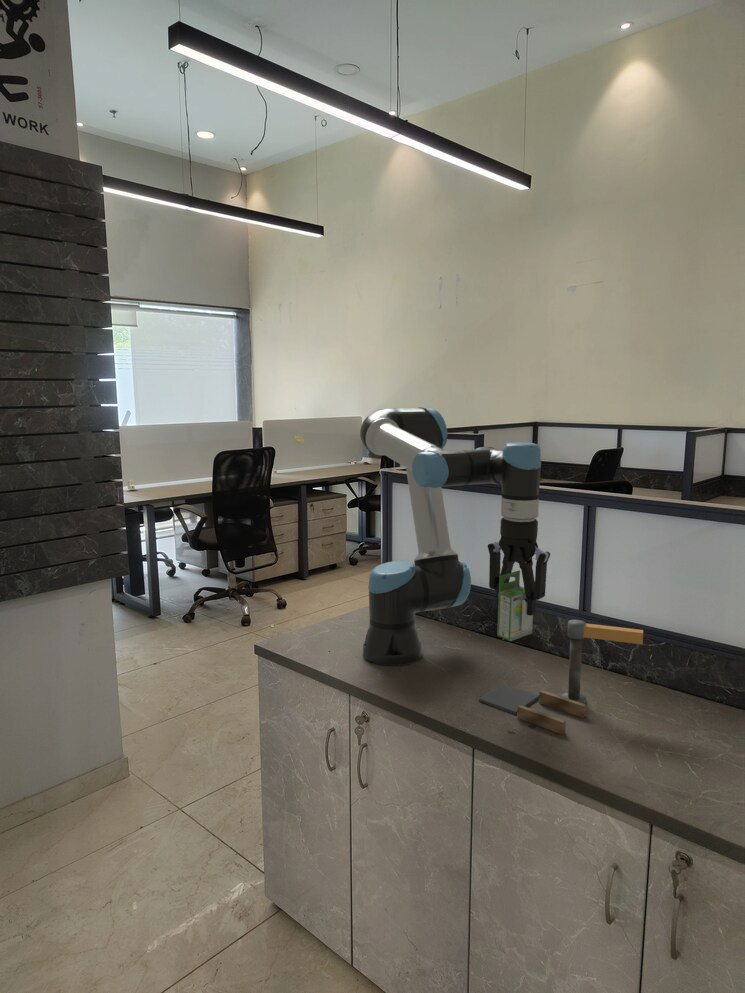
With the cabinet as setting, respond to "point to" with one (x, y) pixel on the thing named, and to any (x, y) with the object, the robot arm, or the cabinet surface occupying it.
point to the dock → (568, 701)
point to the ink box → (511, 608)
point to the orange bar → (603, 632)
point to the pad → (508, 698)
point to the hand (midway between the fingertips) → (515, 625)
